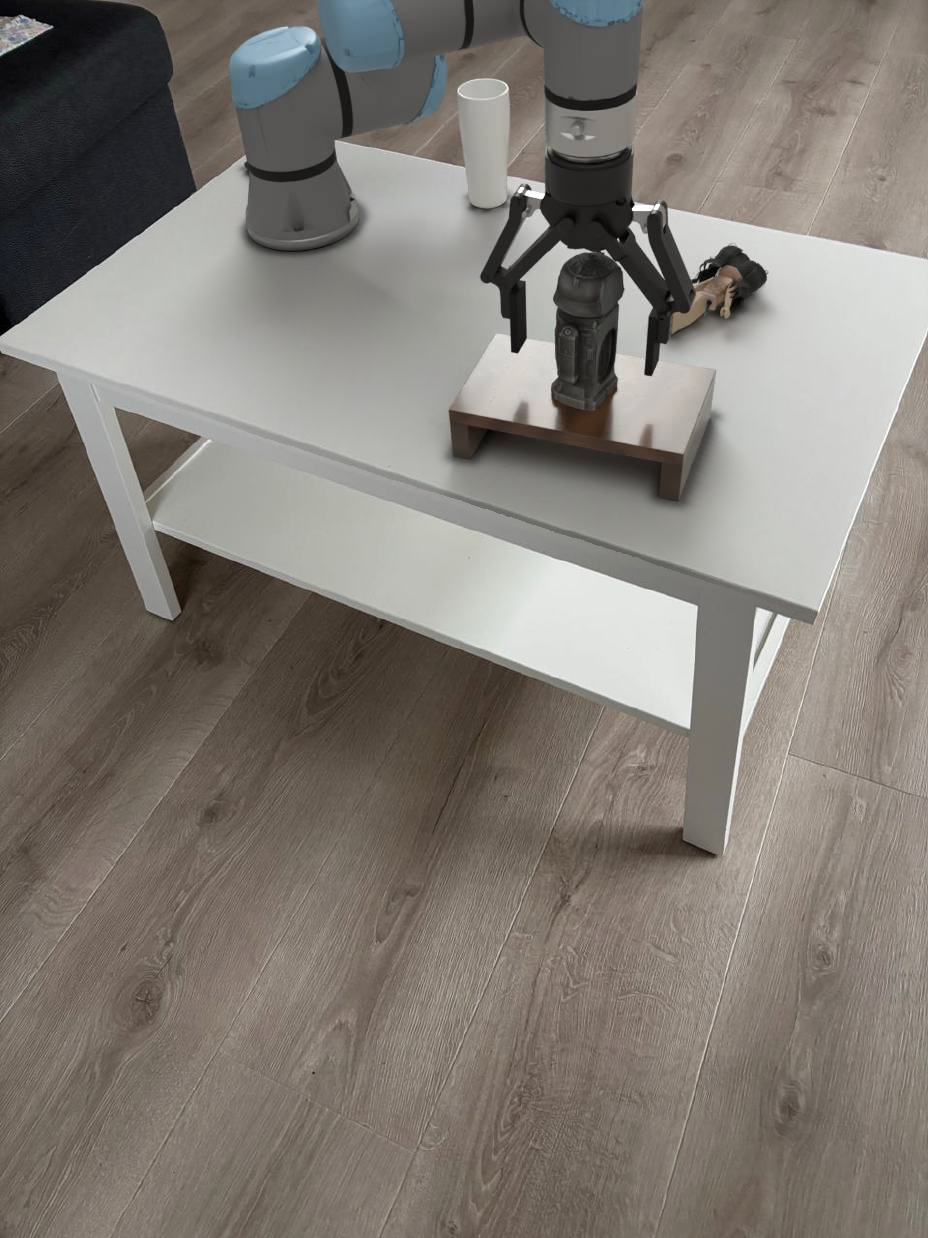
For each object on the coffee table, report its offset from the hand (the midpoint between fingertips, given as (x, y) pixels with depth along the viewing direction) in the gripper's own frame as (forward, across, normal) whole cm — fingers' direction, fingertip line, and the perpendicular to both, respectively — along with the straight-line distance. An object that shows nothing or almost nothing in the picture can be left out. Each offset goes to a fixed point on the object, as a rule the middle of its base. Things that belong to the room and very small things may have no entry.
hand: (584, 356), depth 107 cm
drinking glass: (+10, -27, +45) cm, 54 cm away
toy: (+4, 0, 0) cm, 4 cm away
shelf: (+10, 0, 0) cm, 10 cm away
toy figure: (+10, +8, +27) cm, 30 cm away
